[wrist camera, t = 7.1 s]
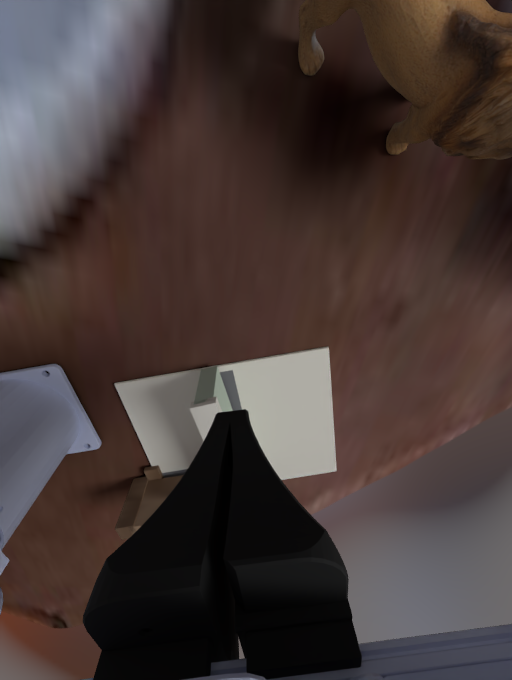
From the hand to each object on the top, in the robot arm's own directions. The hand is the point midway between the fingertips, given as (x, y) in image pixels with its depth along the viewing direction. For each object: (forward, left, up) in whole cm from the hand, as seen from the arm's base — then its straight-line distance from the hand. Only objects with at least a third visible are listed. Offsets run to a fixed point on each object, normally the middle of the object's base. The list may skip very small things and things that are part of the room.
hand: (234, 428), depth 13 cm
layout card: (-1, -8, -9) cm, 12 cm away
